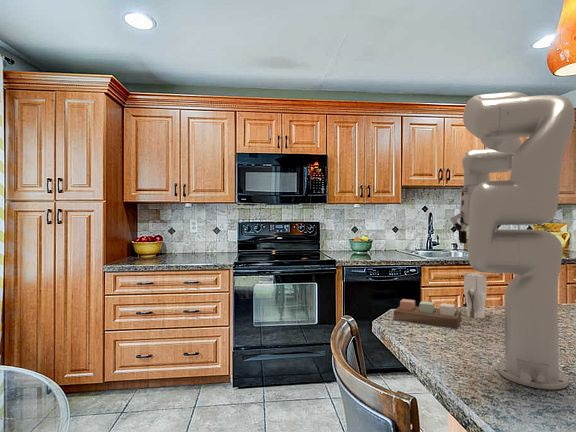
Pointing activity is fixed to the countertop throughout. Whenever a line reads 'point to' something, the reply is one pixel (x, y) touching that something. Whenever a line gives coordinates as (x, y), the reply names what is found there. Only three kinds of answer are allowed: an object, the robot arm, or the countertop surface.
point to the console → (428, 318)
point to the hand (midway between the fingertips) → (477, 243)
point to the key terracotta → (407, 305)
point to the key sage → (427, 307)
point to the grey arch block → (475, 294)
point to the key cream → (447, 309)
